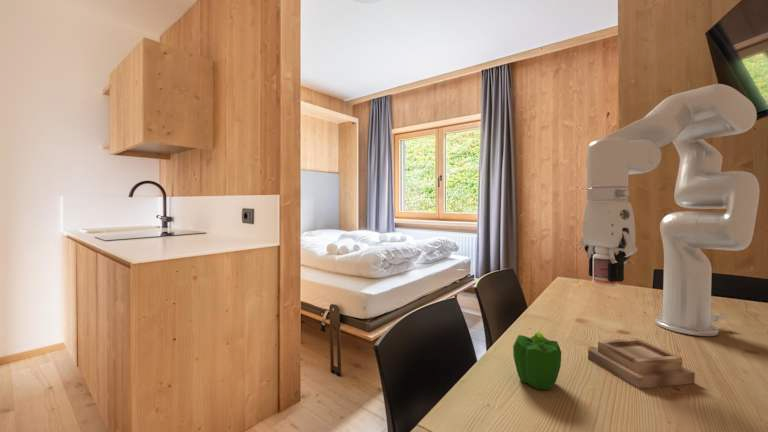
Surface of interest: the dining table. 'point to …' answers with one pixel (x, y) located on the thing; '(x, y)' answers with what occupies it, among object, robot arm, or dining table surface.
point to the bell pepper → (537, 360)
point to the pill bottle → (601, 267)
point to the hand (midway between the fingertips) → (605, 277)
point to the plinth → (641, 363)
